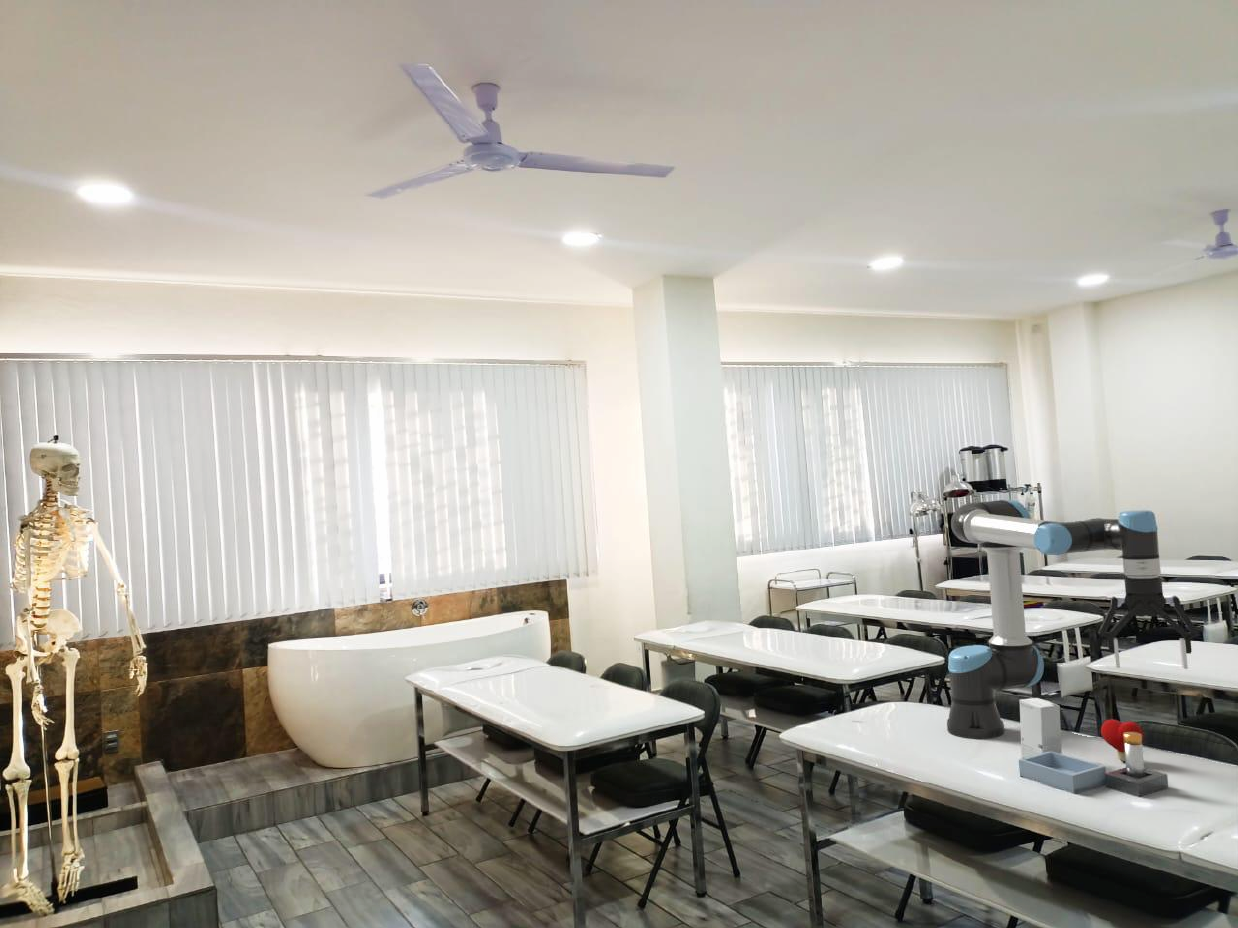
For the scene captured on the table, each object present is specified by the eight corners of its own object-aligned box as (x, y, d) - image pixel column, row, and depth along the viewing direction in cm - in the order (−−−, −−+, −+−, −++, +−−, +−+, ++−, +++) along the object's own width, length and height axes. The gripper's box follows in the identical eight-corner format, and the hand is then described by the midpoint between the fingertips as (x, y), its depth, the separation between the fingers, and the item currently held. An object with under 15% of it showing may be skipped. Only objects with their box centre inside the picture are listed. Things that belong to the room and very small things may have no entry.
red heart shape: (1099, 762, 216) (1095, 721, 217) (1108, 754, 221) (1104, 715, 222) (1141, 769, 210) (1137, 727, 210) (1149, 761, 215) (1146, 720, 215)
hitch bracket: (1105, 786, 200) (1104, 773, 200) (1134, 777, 204) (1133, 765, 204) (1139, 796, 193) (1138, 783, 193) (1168, 787, 197) (1167, 774, 197)
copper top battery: (1124, 786, 199) (1119, 733, 200) (1134, 783, 201) (1130, 730, 201) (1139, 791, 196) (1134, 737, 197) (1149, 787, 198) (1145, 734, 198)
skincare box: (1021, 757, 224) (1016, 699, 224) (1041, 754, 225) (1036, 696, 226) (1044, 767, 216) (1039, 706, 216) (1065, 763, 217) (1060, 703, 218)
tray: (1020, 776, 211) (1018, 759, 211) (1052, 767, 215) (1050, 750, 215) (1073, 793, 197) (1072, 775, 197) (1107, 783, 202) (1105, 766, 202)
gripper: (1083, 579, 208) (1091, 669, 207) (1208, 576, 197) (1217, 671, 196) (1081, 575, 215) (1089, 662, 214) (1202, 573, 204) (1211, 664, 203)
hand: (1150, 667), depth 205 cm, fingers open, 13 cm apart
